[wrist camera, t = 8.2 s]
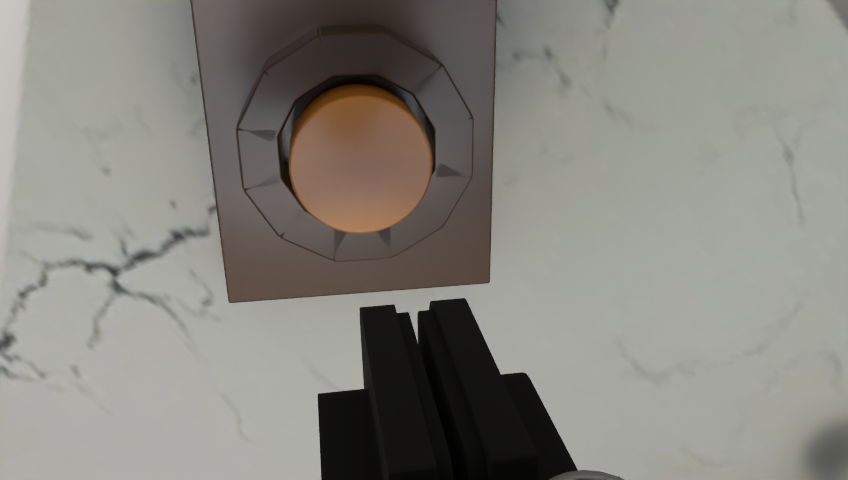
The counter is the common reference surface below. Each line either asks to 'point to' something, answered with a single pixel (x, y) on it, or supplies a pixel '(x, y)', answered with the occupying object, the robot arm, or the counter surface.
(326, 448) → the robot arm
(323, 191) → the warm button
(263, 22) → the control block
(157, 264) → the counter surface
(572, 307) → the counter surface
